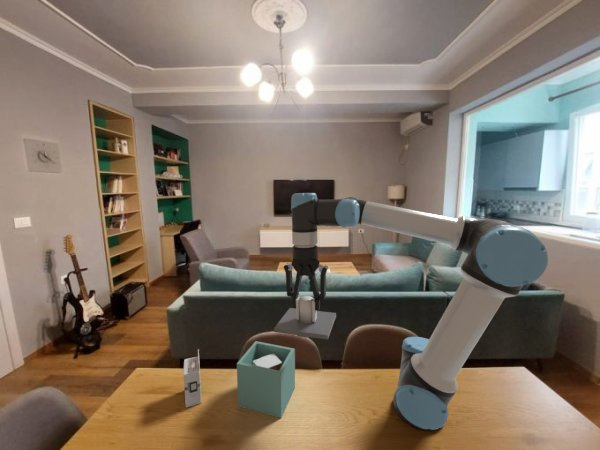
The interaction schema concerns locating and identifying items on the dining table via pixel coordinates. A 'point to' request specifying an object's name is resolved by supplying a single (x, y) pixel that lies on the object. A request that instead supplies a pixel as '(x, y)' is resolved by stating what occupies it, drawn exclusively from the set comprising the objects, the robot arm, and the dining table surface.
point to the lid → (306, 321)
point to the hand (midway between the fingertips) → (306, 318)
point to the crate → (266, 380)
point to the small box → (269, 362)
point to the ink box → (192, 381)
